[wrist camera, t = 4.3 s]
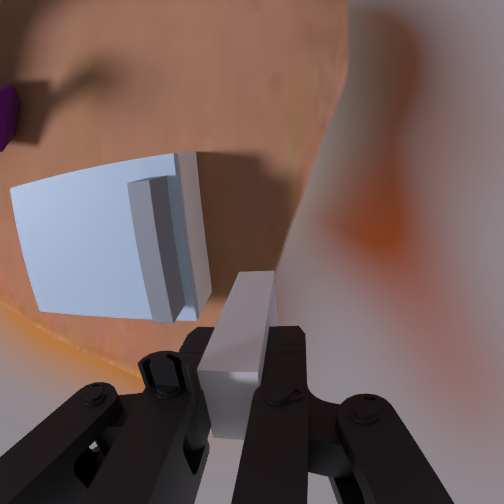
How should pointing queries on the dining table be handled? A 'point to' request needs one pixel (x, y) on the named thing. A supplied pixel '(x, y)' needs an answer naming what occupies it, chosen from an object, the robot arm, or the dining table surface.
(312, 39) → the dining table surface
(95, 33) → the dining table surface
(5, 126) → the perfume bottle
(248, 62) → the dining table surface
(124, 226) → the lid
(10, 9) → the dining table surface
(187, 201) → the storage box
